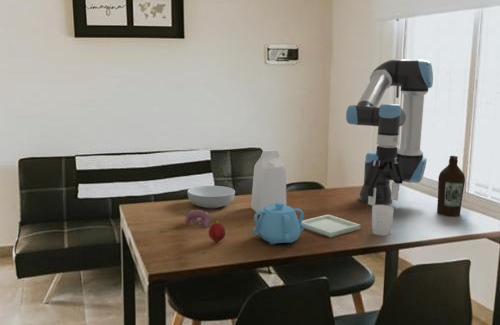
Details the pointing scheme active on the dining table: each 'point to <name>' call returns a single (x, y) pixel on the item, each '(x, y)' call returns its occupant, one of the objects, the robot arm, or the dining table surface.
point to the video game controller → (198, 214)
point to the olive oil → (450, 189)
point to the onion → (216, 232)
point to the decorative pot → (278, 223)
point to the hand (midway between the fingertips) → (383, 202)
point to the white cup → (382, 219)
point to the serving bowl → (211, 196)
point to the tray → (330, 225)
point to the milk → (268, 181)
